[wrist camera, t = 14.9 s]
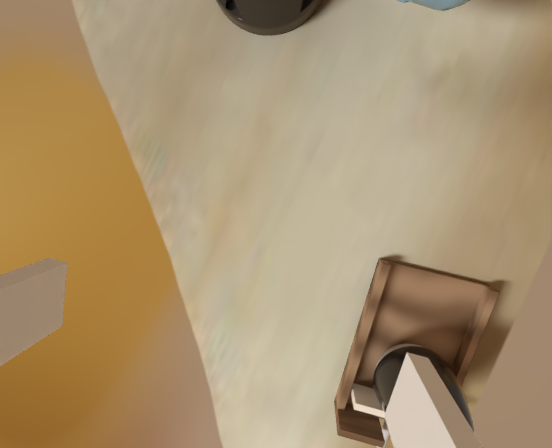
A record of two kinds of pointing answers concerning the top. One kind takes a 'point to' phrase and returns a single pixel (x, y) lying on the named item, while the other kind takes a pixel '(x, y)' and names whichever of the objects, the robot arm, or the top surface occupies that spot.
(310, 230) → the top surface
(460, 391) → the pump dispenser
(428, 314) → the brown wooden tray
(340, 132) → the top surface
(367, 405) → the pusher
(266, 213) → the top surface
